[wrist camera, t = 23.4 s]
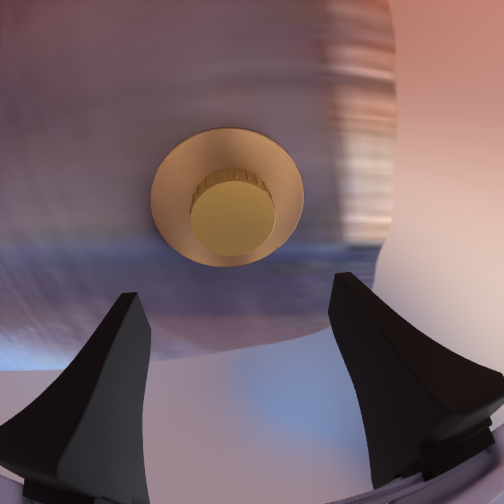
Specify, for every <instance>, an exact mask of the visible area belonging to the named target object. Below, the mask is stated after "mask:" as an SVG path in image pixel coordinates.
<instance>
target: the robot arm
mask: <svg viewBox="0 0 504 504" xmlns="http://www.w3.org/2000/svg"><path fill="white" fill-rule="evenodd" d="M328 315H329V319H330V323H331V327H332V330H333V334H334V337H335V339H336V342H337V345H338V347H339V349H340V352H341V355H342V357H343V359H344V362H345V364H346V367H347V369H348V372H349V374H350V377H351V379H352V382H353V385H354V388H355V391H356V394H357V398H358V402H359V406H360V410H361V414H362V419H363V424H364V429H365V434H366V439H367V446H368V452H369V459H370V468H371V480H372V484H373V488H374V490H372V491H369V492H367V493H363V494H360V495H357V496H353V497H350V498H346V499H342V500H339V501H335V502H330V503H326V504H386V503H388V502H389V503H388V504H491V503H492V502H494V501H495V500H496V499H497V498H498V497H499V496H500V495H501V494H502V493H504V424H502V425H501V426H500V427H498V428H496V429H495V430H494V431H492V432H491V431H490V429H489V426H491V425H492V421H491V418H490V416H491V415H492V414H493V413H494V412H495V411H496V410H497V409H499V408H500V407H501V406H502V405H503V404H504V376H503V374H502V373H500V372H497V371H495V370H492V369H489V368H487V367H484V366H481V365H479V364H477V363H475V362H472V361H470V360H468V359H466V358H464V357H462V356H460V355H458V354H456V353H454V352H452V351H451V350H449V349H447V348H445V347H444V346H442V345H440V344H439V343H437V342H435V341H434V340H432V339H431V338H429V337H428V336H426V335H425V334H424V333H422V332H421V331H419V330H417V329H416V328H415V327H414V326H412V325H411V324H410V323H409V322H407V321H406V320H405V319H403V318H402V317H401V316H400V315H398V314H397V313H396V312H395V311H394V310H392V309H391V308H390V307H389V306H388V305H387V304H385V303H384V302H383V301H382V300H381V299H380V298H379V297H378V296H376V295H375V294H374V293H373V292H372V291H371V290H370V289H369V288H368V287H367V286H366V285H364V284H363V283H362V282H361V281H360V280H359V279H358V278H357V277H356V276H354V275H353V274H352V273H351V272H345V273H336V274H335V277H334V282H333V288H332V293H331V299H330V304H329V309H328ZM150 347H151V328H150V325H149V323H148V320H147V318H146V315H145V312H144V310H143V307H142V304H141V302H140V299H139V296H138V293H137V292H132V293H122V294H121V295H120V296H119V298H118V299H117V300H116V302H115V303H114V305H113V306H112V307H111V309H110V310H109V312H108V313H107V315H106V316H105V318H104V319H103V320H102V322H101V323H100V325H99V326H98V327H97V329H96V330H95V332H94V333H93V335H92V336H91V337H90V339H89V340H88V341H87V343H86V344H85V345H84V347H83V348H82V349H81V351H80V352H79V353H78V355H77V356H76V357H75V358H74V360H73V361H72V362H71V363H70V364H69V366H68V367H67V368H66V369H65V370H64V371H63V372H62V373H61V375H60V376H59V377H58V378H57V379H56V380H55V381H54V382H53V383H52V384H51V385H50V386H49V387H48V388H47V389H46V390H45V391H44V392H43V393H42V394H41V395H40V396H38V397H37V398H36V399H35V400H34V401H33V402H32V403H30V404H29V405H28V406H27V407H26V408H24V409H23V410H22V411H21V412H19V413H18V414H17V415H15V416H14V417H13V418H11V419H10V420H8V421H7V422H5V423H4V424H3V425H1V426H0V465H1V466H3V467H4V468H6V469H8V470H9V471H11V472H13V473H15V474H17V475H18V476H20V477H22V478H24V485H23V484H21V483H19V482H17V481H14V480H12V479H9V478H7V477H5V476H2V475H0V504H150V501H149V496H148V490H147V483H146V476H145V467H144V456H143V437H142V411H143V401H144V393H145V386H146V379H147V372H148V366H149V359H150Z"/></svg>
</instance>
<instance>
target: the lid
mask: <svg viewBox="0 0 504 504" xmlns="http://www.w3.org/2000/svg"><path fill="white" fill-rule="evenodd" d="M275 210H276V209H275V206H274V204H273V198H272V196H271V193H270V191H269V190H267V187H266V185H265V182H264V181H263V182H262V181H261V180H260V179H259V178H258V177H257V175H253V174H252V173H249V172H248V170H246V171H244V170H239V169H237V168H235V169H224V170H221V171H218V172H213V174H211V175H209V176H208V177H207V178H204V180H203V181H202V182H201V183H200V185H197V188H196V191H195V193H194V194H193V195H192V201H191V205H190V212H189V215H191V216H190V225H191V228H192V231H193V234H194V236H195V237H196V239H197V240H198V241H199V242H200V243H201V244H202V245H203V246H204V247H205V248H207V249H208V250H210V251H212V252H214V253H217V254H221V255H228V256H235V255H242V254H246V253H249V252H251V251H253V250H255V249H257V248H258V247H260V246H261V245H262V244H263V243H264V242H265V241H266V240H267V239H268V238H269V236H270V235H271V233H272V231H273V229H274V225H275V220H276V213H275Z"/></svg>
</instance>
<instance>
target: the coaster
mask: <svg viewBox="0 0 504 504" xmlns="http://www.w3.org/2000/svg"><path fill="white" fill-rule="evenodd" d="M235 168H237V169H239V170H244V171H246V170H248V172H249V173H252V174H253V175H257V177H258V178H259V179H260V180H261V181H262V182H263V181H264V182H265V185H266V187H267V190H269V191H270V193H271V196H272V198H273V204H274V206H275V209H276V210H275V213H276V220H275V225H274V229H273V231H272V233H271V235H270V236H269V238H268V239H267V240H266V241H265V242H264V243H263V244H262V245H261V246H260V247H258V248H257V249H255V250H253V251H251V252H249V253H246V254H242V255H235V256H228V255H221V254H217V253H214V252H212V251H210V250H208V249H207V248H205V247H204V246H203V245H202V244H201V243H200V242H199V241H198V240H197V239H196V237H195V236H194V234H193V231H192V228H191V225H190V216H191V215H189V212H190V205H191V201H192V195H193V194H194V193H195V191H196V188H197V185H200V183H201V182H202V181H203V180H204V178H207V177H208V176H209V175H211V174H213V172H218V171H221V170H224V169H235ZM303 202H304V190H303V183H302V179H301V176H300V173H299V171H298V169H297V166H296V165H295V163H294V162H293V160H292V159H291V157H290V156H289V155H288V153H287V152H286V151H285V150H284V149H283V148H282V147H281V146H280V145H278V144H277V143H276V142H275V141H273V140H272V139H270V138H268V137H267V136H265V135H262V134H260V133H258V132H255V131H252V130H248V129H243V128H236V127H222V128H214V129H209V130H206V131H202V132H200V133H197V134H195V135H192V136H191V137H189V138H187V139H185V140H184V141H182V142H181V143H180V144H178V145H177V146H176V147H174V148H173V149H172V151H171V152H170V153H169V154H168V155H167V156H166V157H165V159H164V160H163V161H162V163H161V165H160V166H159V168H158V170H157V172H156V174H155V177H154V180H153V183H152V188H151V197H150V203H151V211H152V215H153V219H154V222H155V224H156V227H157V229H158V230H159V232H160V234H161V235H162V237H163V238H164V239H165V240H166V242H167V243H168V244H169V245H170V246H171V247H172V248H173V249H175V250H176V251H177V252H179V253H180V254H182V255H183V256H185V257H187V258H188V259H191V260H193V261H195V262H198V263H201V264H205V265H210V266H217V267H233V266H240V265H245V264H249V263H252V262H255V261H258V260H260V259H262V258H264V257H266V256H267V255H269V254H271V253H272V252H274V251H275V250H276V249H278V248H279V247H280V246H281V245H282V244H283V243H284V242H285V241H286V240H287V239H288V238H289V236H290V235H291V234H292V232H293V231H294V229H295V227H296V226H297V223H298V221H299V219H300V216H301V213H302V209H303Z"/></svg>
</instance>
